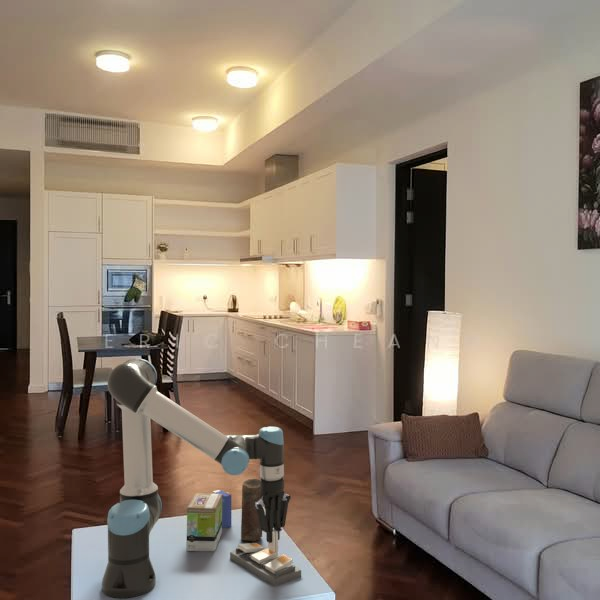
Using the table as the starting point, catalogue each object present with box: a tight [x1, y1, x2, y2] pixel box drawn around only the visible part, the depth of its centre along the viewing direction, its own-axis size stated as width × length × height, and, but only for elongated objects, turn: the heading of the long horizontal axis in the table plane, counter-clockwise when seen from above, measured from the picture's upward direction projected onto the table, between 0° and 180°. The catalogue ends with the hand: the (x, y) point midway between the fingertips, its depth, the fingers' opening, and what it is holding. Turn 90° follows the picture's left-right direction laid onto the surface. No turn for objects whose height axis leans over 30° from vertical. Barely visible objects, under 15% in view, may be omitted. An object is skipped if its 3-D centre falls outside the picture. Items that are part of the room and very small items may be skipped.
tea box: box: [185, 492, 223, 552], centre depth 216 cm, size 15×10×15 cm
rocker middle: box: [251, 547, 279, 564], centre depth 197 cm, size 7×5×1 cm, turn 129°
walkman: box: [211, 489, 232, 529], centre depth 232 cm, size 8×3×12 cm, turn 46°
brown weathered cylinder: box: [240, 478, 263, 542], centre depth 218 cm, size 8×7×20 cm
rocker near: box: [265, 553, 294, 574], centre depth 191 cm, size 7×5×1 cm, turn 129°
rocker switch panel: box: [229, 547, 302, 587], centre depth 197 cm, size 10×24×3 cm, turn 39°
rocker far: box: [237, 542, 265, 553], centre depth 203 cm, size 7×5×1 cm, turn 129°
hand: (273, 551), depth 199 cm, fingers closed
